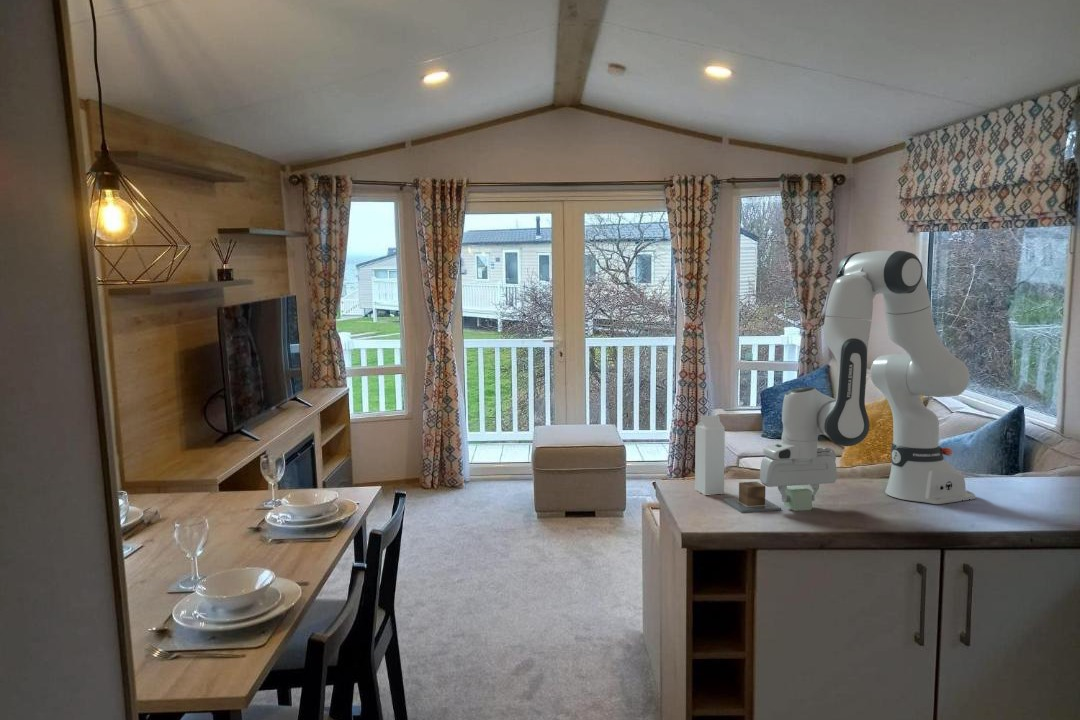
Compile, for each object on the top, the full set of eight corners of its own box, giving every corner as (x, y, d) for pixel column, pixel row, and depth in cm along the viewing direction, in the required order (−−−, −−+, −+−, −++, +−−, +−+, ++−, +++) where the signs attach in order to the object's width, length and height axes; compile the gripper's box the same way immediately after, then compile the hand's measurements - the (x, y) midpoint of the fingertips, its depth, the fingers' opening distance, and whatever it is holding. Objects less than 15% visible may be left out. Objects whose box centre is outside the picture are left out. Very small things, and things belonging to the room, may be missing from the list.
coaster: (761, 498, 198) (761, 496, 198) (781, 510, 187) (781, 507, 187) (723, 501, 196) (723, 498, 196) (741, 512, 185) (741, 510, 185)
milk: (724, 494, 203) (725, 416, 201) (704, 496, 201) (706, 417, 199) (713, 489, 209) (714, 413, 207) (694, 490, 207) (695, 414, 205)
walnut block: (756, 499, 194) (756, 481, 194) (765, 505, 189) (765, 486, 189) (738, 500, 193) (739, 482, 193) (747, 506, 189) (747, 487, 188)
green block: (801, 504, 192) (801, 486, 192) (811, 509, 187) (812, 491, 187) (784, 505, 191) (784, 487, 191) (794, 511, 187) (794, 492, 186)
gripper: (828, 445, 193) (827, 495, 194) (757, 448, 189) (756, 500, 191) (842, 449, 187) (841, 502, 188) (769, 453, 183) (768, 506, 184)
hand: (798, 501), depth 189 cm, fingers open, 5 cm apart
